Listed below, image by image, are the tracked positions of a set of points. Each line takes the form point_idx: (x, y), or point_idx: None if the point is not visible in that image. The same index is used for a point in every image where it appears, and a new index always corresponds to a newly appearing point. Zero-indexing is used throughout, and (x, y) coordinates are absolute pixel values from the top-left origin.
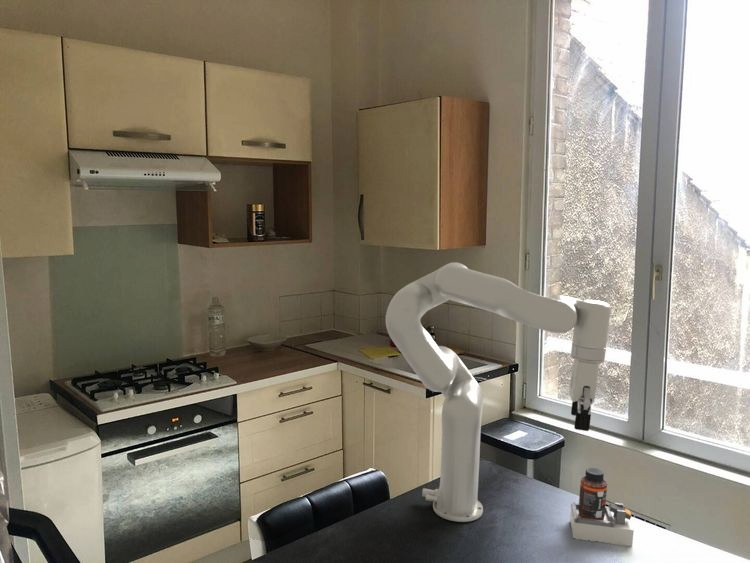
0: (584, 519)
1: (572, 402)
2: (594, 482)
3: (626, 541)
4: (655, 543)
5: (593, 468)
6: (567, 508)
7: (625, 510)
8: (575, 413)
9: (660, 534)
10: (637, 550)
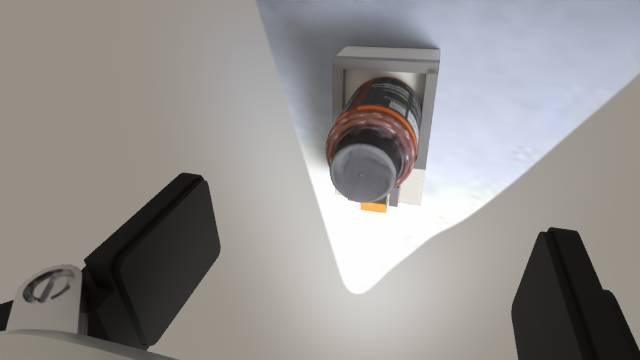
0: (334, 86)
1: (598, 333)
2: (333, 154)
3: None
4: (368, 221)
5: (386, 176)
6: (527, 52)
7: (374, 202)
8: (532, 266)
9: (409, 243)
10: None
